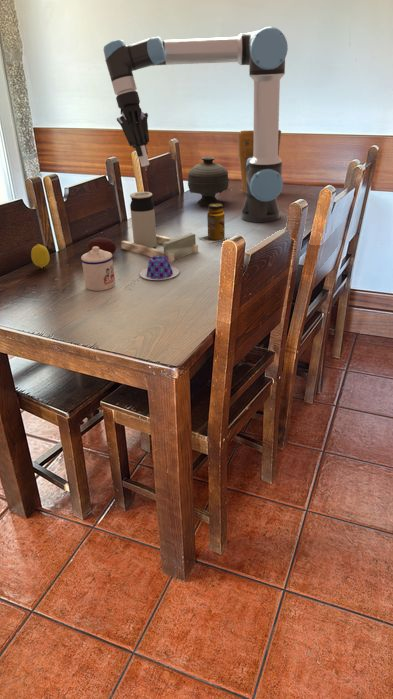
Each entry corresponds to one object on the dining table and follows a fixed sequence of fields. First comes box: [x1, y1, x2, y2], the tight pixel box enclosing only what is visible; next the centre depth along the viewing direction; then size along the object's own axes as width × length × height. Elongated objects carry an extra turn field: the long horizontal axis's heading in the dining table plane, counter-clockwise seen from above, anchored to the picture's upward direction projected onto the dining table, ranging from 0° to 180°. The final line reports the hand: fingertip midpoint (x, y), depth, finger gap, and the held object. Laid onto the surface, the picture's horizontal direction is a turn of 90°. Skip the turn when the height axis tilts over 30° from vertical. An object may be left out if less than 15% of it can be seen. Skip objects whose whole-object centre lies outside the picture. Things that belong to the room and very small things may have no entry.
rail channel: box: [120, 232, 199, 264], centre depth 180 cm, size 24×13×6 cm, turn 48°
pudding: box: [139, 256, 180, 281], centre depth 160 cm, size 12×12×5 cm
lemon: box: [30, 243, 50, 269], centre depth 168 cm, size 6×6×8 cm
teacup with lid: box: [80, 246, 116, 292], centre depth 153 cm, size 12×9×12 cm
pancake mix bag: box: [237, 129, 282, 194], centre depth 242 cm, size 7×19×28 cm, turn 74°
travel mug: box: [129, 191, 158, 249], centre depth 181 cm, size 8×8×18 cm
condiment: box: [199, 203, 230, 244], centre depth 187 cm, size 7×8×12 cm
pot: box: [187, 156, 229, 207], centre depth 231 cm, size 18×18×20 cm
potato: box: [87, 236, 117, 255], centre depth 177 cm, size 7×10×6 cm
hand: (145, 165), depth 184 cm, fingers closed
